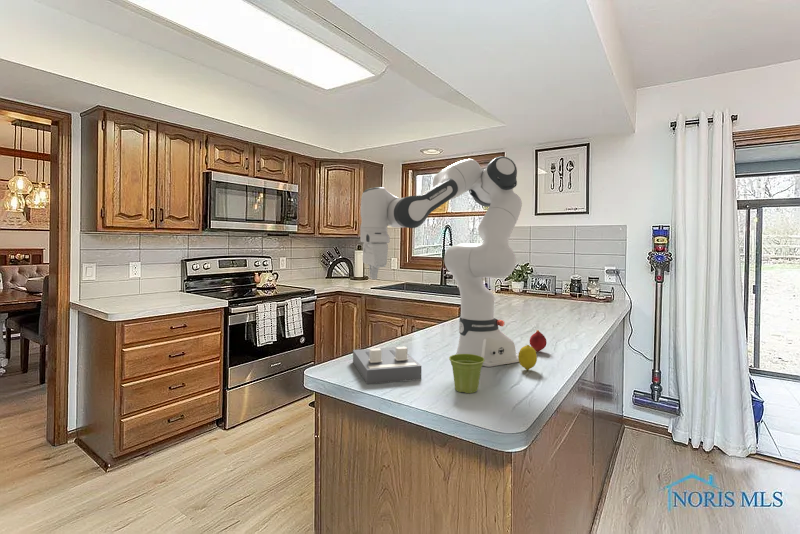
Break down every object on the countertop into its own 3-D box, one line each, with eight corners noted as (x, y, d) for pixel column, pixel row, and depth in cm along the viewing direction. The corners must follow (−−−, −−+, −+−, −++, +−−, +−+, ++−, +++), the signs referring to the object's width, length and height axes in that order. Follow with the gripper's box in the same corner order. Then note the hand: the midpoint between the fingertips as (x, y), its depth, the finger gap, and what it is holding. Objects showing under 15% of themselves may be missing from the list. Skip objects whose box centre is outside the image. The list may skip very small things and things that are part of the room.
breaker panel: (399, 358, 145) (399, 346, 145) (421, 379, 124) (421, 365, 124) (352, 362, 141) (353, 349, 140) (367, 384, 120) (367, 369, 119)
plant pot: (460, 398, 110) (461, 365, 110) (442, 386, 119) (443, 355, 118) (490, 393, 114) (491, 361, 113) (471, 382, 122) (471, 352, 122)
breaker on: (405, 357, 131) (405, 346, 131) (408, 360, 129) (408, 348, 128) (394, 358, 130) (394, 346, 130) (396, 360, 128) (397, 349, 127)
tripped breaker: (380, 359, 129) (380, 347, 129) (382, 362, 126) (382, 350, 126) (368, 360, 128) (368, 348, 128) (370, 362, 125) (370, 351, 125)
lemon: (537, 373, 131) (538, 347, 130) (518, 372, 132) (519, 346, 131) (535, 368, 136) (536, 343, 136) (517, 366, 137) (518, 342, 137)
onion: (547, 351, 157) (548, 329, 156) (543, 354, 152) (544, 332, 151) (531, 348, 160) (532, 327, 159) (527, 352, 155) (527, 330, 155)
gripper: (358, 236, 150) (358, 276, 151) (371, 237, 130) (370, 282, 131) (375, 237, 152) (375, 276, 153) (391, 237, 132) (390, 282, 133)
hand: (373, 279), depth 142 cm, fingers closed
